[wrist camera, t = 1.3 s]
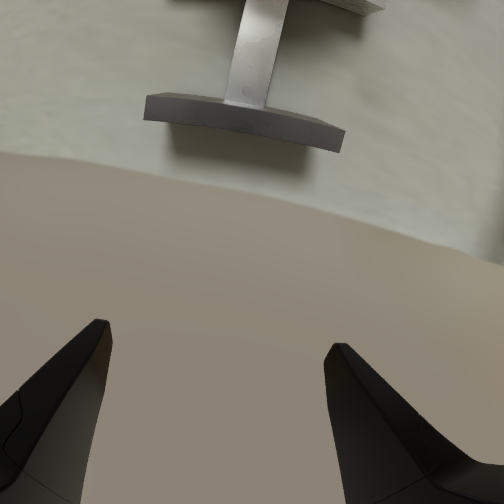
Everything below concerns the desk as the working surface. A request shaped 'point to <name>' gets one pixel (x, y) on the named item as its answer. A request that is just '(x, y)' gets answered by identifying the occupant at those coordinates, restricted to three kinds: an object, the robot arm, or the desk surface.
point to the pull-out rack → (255, 85)
